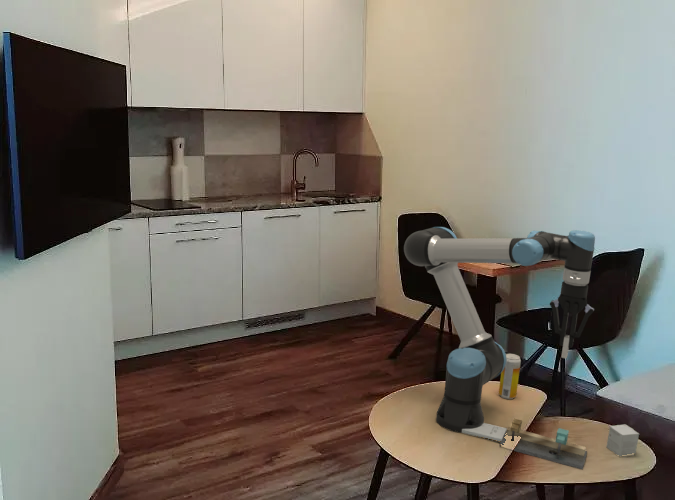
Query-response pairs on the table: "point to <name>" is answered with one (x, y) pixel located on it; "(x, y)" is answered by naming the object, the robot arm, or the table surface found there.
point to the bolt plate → (549, 453)
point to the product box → (622, 440)
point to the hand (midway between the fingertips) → (564, 356)
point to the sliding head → (561, 437)
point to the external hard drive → (487, 431)
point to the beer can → (510, 377)
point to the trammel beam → (542, 439)
